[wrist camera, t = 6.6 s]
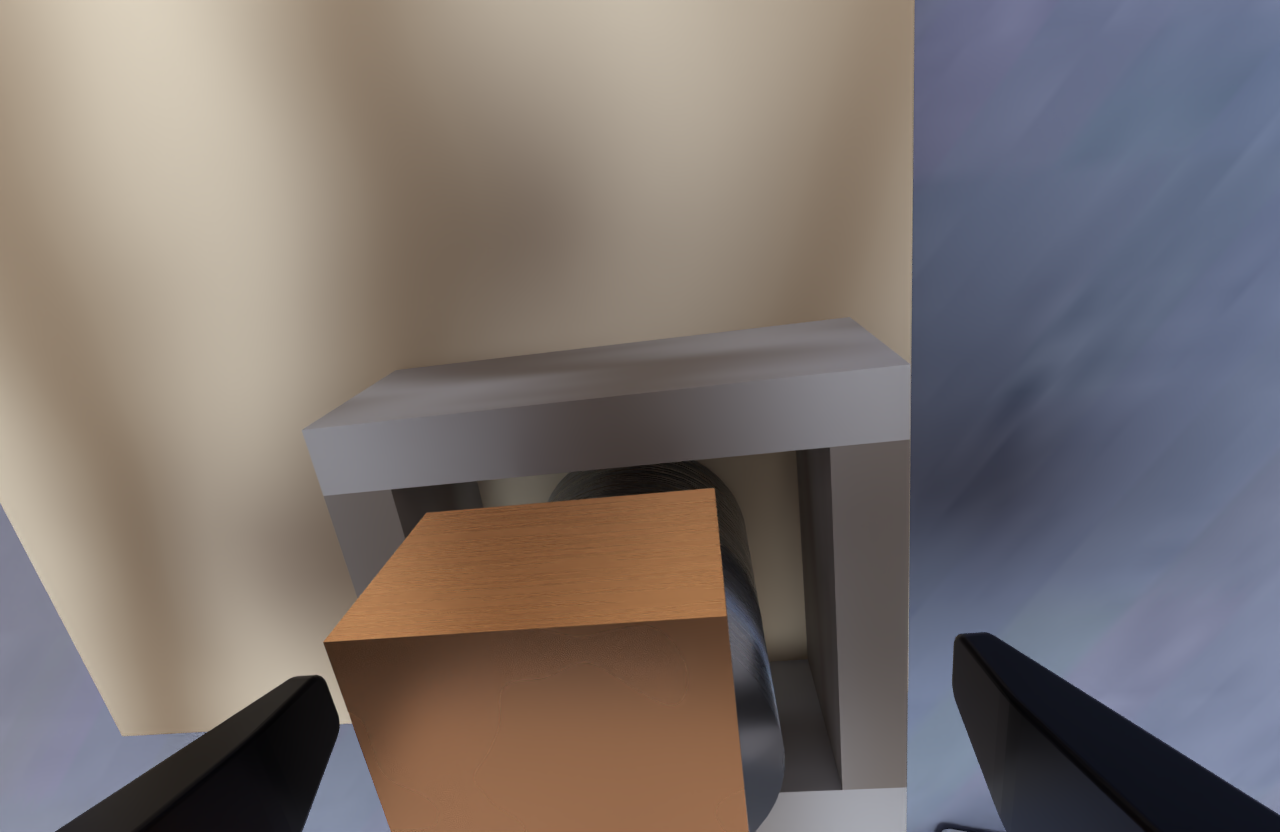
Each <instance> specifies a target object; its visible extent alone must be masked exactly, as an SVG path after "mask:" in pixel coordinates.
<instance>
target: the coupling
mask: <svg viewBox="0 0 1280 832" xmlns="http://www.w3.org/2000/svg"><path fill="white" fill-rule="evenodd" d="M323 644H324V646H325V649H326V652H327V655H328V658H329V660H330V663H331V666H332V669H333V672H334V674H335V677H336V680H337V683H338V685H339V688H340V691H341V694H342V697H343V699H344V702H345V705H346V708H347V710H348V713H349V716H350V719H351V722H352V724H353V727H354V730H355V733H356V735H357V738H358V741H359V744H360V747H361V749H362V752H363V755H364V758H365V760H366V763H367V766H368V769H369V772H370V774H371V777H372V780H373V783H374V785H375V788H376V791H377V794H378V797H379V799H380V802H381V805H382V808H383V810H384V813H385V816H386V819H387V822H388V824H389V827H390V830H391V832H755V831H756V830H757V829H758V828H759V826H760V825H761V824H762V823H763V822H764V820H765V819H766V818H767V816H768V815H769V813H770V811H771V810H772V808H773V806H774V804H775V803H776V800H777V798H778V795H779V792H780V790H781V787H782V782H783V777H784V771H785V752H784V745H783V739H782V733H781V727H780V722H779V716H778V710H777V705H776V699H775V693H774V687H773V682H772V676H771V670H770V664H769V659H768V653H767V647H766V641H765V636H764V630H763V624H762V619H761V613H760V607H759V601H758V596H757V590H756V584H755V578H754V573H753V567H752V561H751V555H750V550H749V544H748V538H747V533H746V527H745V521H744V518H743V515H742V512H741V509H740V507H739V505H738V503H737V501H736V499H735V497H734V496H733V494H732V493H731V491H730V490H729V488H728V487H727V486H726V485H725V484H724V483H723V482H722V480H721V479H720V478H719V477H718V476H716V475H715V474H714V473H713V472H712V471H711V470H709V469H708V468H707V467H705V466H703V465H702V464H700V463H699V462H697V461H695V460H691V461H681V462H670V463H660V464H650V465H639V466H629V467H618V468H608V469H598V470H587V471H577V472H569V473H568V474H567V475H566V476H565V477H564V478H563V479H562V480H561V481H560V482H559V483H558V485H557V486H556V488H555V489H554V491H553V492H552V494H551V496H550V498H549V500H548V502H545V503H534V504H522V505H511V506H499V507H487V508H476V509H464V510H453V511H441V512H430V513H426V514H425V515H424V516H423V518H422V519H421V520H420V521H419V523H418V524H417V525H416V526H415V528H414V529H413V530H412V531H411V533H410V534H409V535H408V536H407V538H406V539H405V540H404V541H403V543H402V544H401V545H400V546H399V548H398V549H397V550H396V551H395V553H394V554H393V555H392V556H391V558H390V559H389V560H388V561H387V563H386V564H385V565H384V566H383V568H382V569H381V570H380V571H379V573H378V574H377V575H376V576H375V578H374V579H373V580H372V581H371V583H370V584H369V585H368V586H367V588H366V589H365V590H364V591H363V593H362V594H361V595H360V596H359V598H358V599H357V600H356V601H355V603H354V604H353V605H352V606H351V608H350V609H349V610H348V611H347V613H346V614H345V615H344V616H343V618H342V619H341V620H340V621H339V623H338V624H337V625H336V626H335V628H334V629H333V630H332V631H331V633H330V634H329V635H328V636H327V638H326V639H325V640H324V641H323Z"/></svg>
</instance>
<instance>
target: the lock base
mask: <svg viewBox="0 0 1280 832" xmlns="http://www.w3.org/2000/svg"><path fill="white" fill-rule="evenodd" d="M914 5H915V0H0V503H1V505H2V507H3V509H4V511H5V513H6V515H7V517H8V518H9V520H10V522H11V524H12V526H13V528H14V530H15V532H16V534H17V536H18V538H19V539H20V541H21V543H22V545H23V547H24V549H25V551H26V553H27V555H28V557H29V559H30V561H31V562H32V564H33V566H34V568H35V570H36V572H37V574H38V576H39V578H40V580H41V582H42V583H43V585H44V587H45V589H46V591H47V593H48V595H49V597H50V599H51V601H52V603H53V604H54V606H55V608H56V610H57V612H58V614H59V616H60V618H61V620H62V622H63V624H64V626H65V627H66V629H67V631H68V633H69V635H70V637H71V639H72V641H73V643H74V645H75V647H76V648H77V650H78V652H79V654H80V656H81V658H82V660H83V662H84V664H85V666H86V668H87V670H88V671H89V673H90V675H91V677H92V679H93V681H94V683H95V685H96V687H97V689H98V691H99V692H100V694H101V696H102V698H103V700H104V702H105V704H106V706H107V708H108V710H109V712H110V713H111V715H112V717H113V719H114V721H115V723H116V725H117V727H118V729H119V731H120V733H121V735H122V736H137V735H154V734H172V733H190V732H208V731H210V730H211V729H213V728H214V727H216V726H218V725H219V724H221V723H222V722H224V721H225V720H227V719H228V718H230V717H231V716H233V715H234V714H236V713H237V712H239V711H241V710H242V709H244V708H245V707H247V706H248V705H250V704H251V703H253V702H254V701H256V700H257V699H259V698H260V697H262V696H263V695H265V694H267V693H268V692H270V691H271V690H273V689H274V688H276V687H277V686H279V685H280V684H282V683H283V682H285V681H286V680H288V679H290V678H292V677H295V676H305V675H319V676H322V677H323V678H324V679H325V681H326V683H327V685H328V688H329V691H330V693H331V696H332V699H333V702H334V704H335V707H336V710H337V712H338V715H339V722H340V724H350V723H352V722H351V719H350V716H349V713H348V710H347V708H346V705H345V702H344V699H343V697H342V694H341V691H340V688H339V685H338V683H337V680H336V677H335V674H334V672H333V669H332V666H331V663H330V660H329V658H328V655H327V652H326V649H325V646H324V644H323V641H324V640H325V639H326V638H327V636H328V635H329V634H330V633H331V631H332V630H333V629H334V628H335V626H336V625H337V624H338V623H339V621H340V620H341V619H342V618H343V616H344V615H345V614H346V613H347V611H348V610H349V609H350V608H351V606H352V605H353V604H354V603H355V601H356V600H357V599H358V598H359V596H360V595H361V594H362V593H363V591H364V590H365V589H366V588H367V586H368V585H369V584H370V583H371V581H372V580H373V579H374V578H375V576H376V575H377V574H378V573H379V571H380V570H381V569H382V568H383V566H384V565H385V564H386V563H387V561H388V560H389V559H390V558H391V556H392V555H393V554H394V553H395V551H396V550H397V549H398V548H399V546H400V545H401V544H402V543H403V541H404V540H405V539H406V538H407V536H408V535H409V534H410V533H411V531H412V530H413V529H414V528H415V526H416V525H417V524H418V523H419V521H420V520H421V519H422V518H423V516H424V515H425V514H426V513H430V512H441V511H453V510H464V509H476V508H487V507H499V506H511V505H522V504H534V503H545V502H548V500H549V498H550V496H551V494H552V492H553V491H554V489H555V488H556V486H557V485H558V483H559V482H560V481H561V480H562V479H563V478H564V477H565V476H566V475H567V474H568V473H569V472H577V471H587V470H598V469H608V468H618V467H629V466H639V465H650V464H660V463H670V462H681V461H691V460H695V461H697V462H699V463H700V464H702V465H703V466H705V467H707V468H708V469H709V470H711V471H712V472H713V473H714V474H715V475H716V476H718V477H719V478H720V479H721V480H722V482H723V483H724V484H725V485H726V486H727V487H728V488H729V490H730V491H731V493H732V494H733V496H734V497H735V499H736V501H737V503H738V505H739V507H740V509H741V512H742V515H743V518H744V521H745V527H746V533H747V538H748V544H749V550H750V555H751V561H752V567H753V573H754V578H755V584H756V590H757V596H758V601H759V607H760V613H761V619H762V624H763V630H764V636H765V641H766V647H767V653H768V659H769V664H770V670H771V676H772V682H773V687H774V693H775V699H776V705H777V710H778V716H779V722H780V727H781V733H782V739H783V745H784V752H785V771H784V777H783V782H782V787H781V790H780V792H779V795H778V798H777V800H776V803H775V804H774V806H773V808H772V810H771V811H770V813H769V815H768V816H767V818H766V819H765V820H764V822H763V823H762V824H761V825H760V826H759V828H758V829H757V830H756V831H755V832H906V813H907V703H908V642H909V536H910V430H911V324H912V218H913V112H914Z"/></svg>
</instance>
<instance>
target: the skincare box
mask: <svg viewBox="0 0 1280 832" xmlns="http://www.w3.org/2000/svg"><path fill="white" fill-rule="evenodd" d="M942 832H965V831H960V830H954V829H944V830H943V831H942Z"/></svg>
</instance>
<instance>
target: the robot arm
mask: <svg viewBox="0 0 1280 832" xmlns="http://www.w3.org/2000/svg"><path fill="white" fill-rule="evenodd" d="M952 687H953V693H954V697H955V701H956V704H957V707H958V709H959V712H960V714H961V717H962V720H963V722H964V725H965V728H966V730H967V733H968V736H969V738H970V741H971V744H972V746H973V749H974V752H975V754H976V757H977V759H978V762H979V765H980V767H981V770H982V773H983V775H984V778H985V781H986V783H987V786H988V789H989V791H990V794H991V797H992V799H993V802H994V804H995V807H996V809H997V812H998V814H999V817H1000V819H1001V821H1002V823H1003V825H1004V828H1005V830H1006V832H1280V815H1279V814H1277V813H1276V812H1274V811H1272V810H1271V809H1269V808H1268V807H1266V806H1264V805H1263V804H1261V803H1260V802H1258V801H1257V800H1255V799H1253V798H1252V797H1250V796H1249V795H1247V794H1245V793H1244V792H1242V791H1241V790H1239V789H1237V788H1236V787H1234V786H1233V785H1231V784H1230V783H1228V782H1226V781H1225V780H1223V779H1222V778H1220V777H1218V776H1217V775H1215V774H1214V773H1212V772H1210V771H1209V770H1207V769H1206V768H1204V767H1202V766H1201V765H1199V764H1198V763H1196V762H1195V761H1193V760H1191V759H1190V758H1188V757H1187V756H1185V755H1183V754H1182V753H1180V752H1179V751H1177V750H1175V749H1174V748H1172V747H1171V746H1169V745H1167V744H1166V743H1164V742H1163V741H1161V740H1160V739H1158V738H1156V737H1155V736H1153V735H1152V734H1150V733H1148V732H1147V731H1145V730H1144V729H1142V728H1140V727H1139V726H1137V725H1136V724H1134V723H1132V722H1131V721H1129V720H1128V719H1126V718H1125V717H1123V716H1121V715H1120V714H1118V713H1117V712H1115V711H1113V710H1112V709H1110V708H1109V707H1107V706H1105V705H1104V704H1102V703H1101V702H1099V701H1098V700H1096V699H1094V698H1093V697H1091V696H1090V695H1088V694H1086V693H1085V692H1083V691H1082V690H1080V689H1078V688H1077V687H1075V686H1074V685H1072V684H1070V683H1069V682H1067V681H1066V680H1064V679H1063V678H1061V677H1059V676H1058V675H1056V674H1055V673H1053V672H1051V671H1050V670H1048V669H1047V668H1045V667H1043V666H1042V665H1040V664H1039V663H1037V662H1035V661H1034V660H1032V659H1031V658H1029V657H1028V656H1026V655H1024V654H1023V653H1021V652H1020V651H1018V650H1016V649H1015V648H1013V647H1012V646H1010V645H1008V644H1007V643H1005V642H1004V641H1002V640H1000V639H999V638H997V637H996V636H994V635H992V634H990V633H986V632H980V633H964V634H959V635H958V636H956V638H955V641H954V650H953V674H952ZM339 726H340V722H339V715H338V712H337V710H336V707H335V704H334V702H333V699H332V696H331V693H330V691H329V688H328V685H327V683H326V681H325V679H324V678H323V677H322V676H319V675H305V676H295V677H292V678H290V679H288V680H286V681H285V682H283V683H282V684H280V685H279V686H277V687H276V688H274V689H273V690H271V691H270V692H268V693H267V694H265V695H263V696H262V697H260V698H259V699H257V700H256V701H254V702H253V703H251V704H250V705H248V706H247V707H245V708H244V709H242V710H241V711H239V712H237V713H236V714H234V715H233V716H231V717H230V718H228V719H227V720H225V721H224V722H222V723H221V724H219V725H218V726H216V727H214V728H213V729H211V730H210V731H208V732H207V733H205V734H204V735H202V736H201V737H199V738H198V739H196V740H195V741H193V742H192V743H190V744H188V745H187V746H185V747H184V748H182V749H181V750H179V751H178V752H176V753H175V754H173V755H172V756H170V757H169V758H167V759H165V760H164V761H162V762H161V763H159V764H158V765H156V766H155V767H153V768H152V769H150V770H149V771H147V772H146V773H144V774H142V775H141V776H139V777H138V778H136V779H135V780H133V781H132V782H130V783H129V784H127V785H126V786H124V787H123V788H121V789H120V790H118V791H116V792H115V793H113V794H112V795H110V796H109V797H107V798H106V799H104V800H103V801H101V802H100V803H98V804H97V805H95V806H93V807H92V808H90V809H89V810H87V811H86V812H84V813H83V814H81V815H80V816H78V817H77V818H75V819H74V820H72V821H71V822H69V823H67V824H66V825H64V826H63V827H61V828H60V829H58V830H57V831H55V832H302V830H303V828H304V825H305V823H306V820H307V817H308V815H309V812H310V809H311V807H312V804H313V801H314V798H315V796H316V793H317V790H318V788H319V785H320V782H321V780H322V777H323V774H324V772H325V769H326V766H327V763H328V761H329V758H330V755H331V753H332V750H333V747H334V745H335V742H336V739H337V736H338V733H339Z"/></svg>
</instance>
